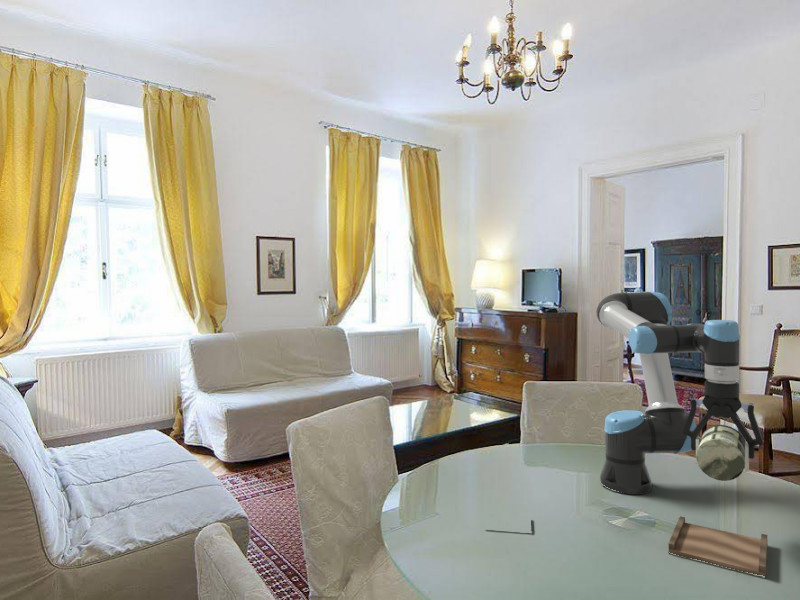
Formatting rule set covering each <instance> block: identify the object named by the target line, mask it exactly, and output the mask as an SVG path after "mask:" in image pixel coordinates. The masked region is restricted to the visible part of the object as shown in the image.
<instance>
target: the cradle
mask: <svg viewBox="0 0 800 600" xmlns="http://www.w3.org/2000/svg"><path fill="white" fill-rule="evenodd" d="M669 552H670V553H673V554H676V555H679V556H683V557H686V558H685V559H687V558H692V559H697V560H701V561H705V562H708V563H712V564H716V565H719V566H723V567H727V568H731V569H735V570H739V571H743V572H748V573H753V574H757V575H763V576H765V575H767V562H766V561H768V560H767V558H768V534H764V533H761V534H760V538H757V537H753V536H748V535H744V534H739V533H734V532H730V531H726V530H720V529H717V528H712V527H707V526H704V525H703V526H702V525H698V524H693V523H689V522H686V517H685V516H681V515H680V516H679V517H678V521H677V522H676V525H675V527H674V530H673V532H672V535H670V539H669V542H668V553H669ZM679 556H678V557H679ZM683 557H682V558H683Z"/></svg>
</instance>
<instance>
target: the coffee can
mask: <svg viewBox="0 0 800 600" xmlns="http://www.w3.org/2000/svg"><path fill="white" fill-rule="evenodd" d="M745 443H747V442H746V440H745V439H744V437H743V435H742V434H741V432H740V431H739V430H737V428H734V427H731V426H730V425H726V424H716V425H712V426H709V427H708V428H706V429H705V430H704V432H703V433H702V435H701V437H700V445H699V448H698V450H697V452H696V451H695V461H696V460H697V463H698V464H697V466H698V467H699V469H700V470H701V471H702V472H703V473H704V474H705V475H707V476H708V477H710V478H711V479H712V480H713V479H714V480H716V481H721V482H722V481H724V482H727V481H732V480H735V479H737V478H739V477H740V476H741V475H742V473H743V472H744V471H745Z"/></svg>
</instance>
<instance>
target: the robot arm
mask: <svg viewBox="0 0 800 600" xmlns="http://www.w3.org/2000/svg"><path fill="white" fill-rule="evenodd" d="M672 313H673V309H672V304H671V302H670V301H669V299H668V298H667V296H666V295H665V294H663V293H662V292H654V291H653V292H652V291H645V292H643V291H642V292H640V291H639V292H617V293H613V294H609V295H607V296H605V297H603V299H601V301H599V303H598V305H597V307H596V313H595V314H596V317H597V319H598V321H599V323H600V324H602V325H603V326H605V328H607V329H611V330H615V331H617V332H618V333H619V334H620V335H623V336H624V337H625V338H627V339H628V344H629V347H630V349H631V351H632V352H634V353H635V354H639V357H640V358H639V359H640V364H641V370H642V376H643V381H644V387H645V392H646V398H647V403H648V406H647V407H646V409H645V410H644V412H642V411H639V410H635V409H632V410H630V409H623V410H617V411H613V412H611V413H609V414H607V415H606V417H605V419H604V428H603V429H604V445H605V446H604V448H605V449H604V450H605V452H604V453H605V461H604V464H603V467H602V468H601V469H602V470H601V473H600V476H599V477H600V479H599V480H600V481H601V483H602V484H603V485H605V486H606V487H608V488H610V489H613V490H616V491H619V492H622V493H621V494H624V493H628V494H627V495H642V494H647V493H650V492H651V491H652V488H653V486H652V483H653V482H652V479H651V476H650V473H649V469H648V468H647V465H646V454H674V455H675V454H676V455H677V454H681V453H683V454H684V453H689V452H690V451H695V453H696V452H697V450H698V448H699V445H700V442H701V437H700V436H698V435H699V434H700V433H701V431H702V430H703V428H704V427H705V426H706V424H707V423H708V421H710V419H711V418H712V417H716V418H725V419H729V418H730V419H731V421H732V422H733V423H734V424H735V427H737V428H736V429H738V432H739V433H740V434H741V435H742V436H743V437H744V439H745V441H746V443H745V466H744V472H745V473H749V470H750V459H752V460H754V458H755V447H756V446H762V445H763V443H764V439H763V436H762V433H761V430H760V426H759V424H758V421H757V418H756V415H755V413H754V412H755V411H754V410H755V405H754V403H751V402H750V403H743V402H741V400H740V383H739V382H738V381H740V339H741V335H740V330H739V329H740V328H739V324H738V322H737V321H734V320H729V319H728V320H727V319H710V320H708V319H707V320H706V321H705V322H704V324H702V323H700V322H699V323H687V324H676V325H674V324H673V325H669V324H670V323H671V322H672V320H673V319H672V318H673V316H672ZM670 353H672V354H673V353H675V354H679V353H702V354H704V378H705V381H704V397H703V398H702V399H701V398H696V397H693V398H691V400H690V410H689V414H686V411H685V410H686V409H685V407H684V406H682V405H680V404H679V401H678V396H677V393H676V388H675V382H674V377H673V374H672V373H673V372H672V368H671V362H670V358H669V354H670ZM701 405H703V406H704V407H705V408H706V410H707V411H706V412H705V414H704V416H703V417H702V418H701V420H699V421H700V422H699V423H696V421H695V420H694V418H695V415H696V413H697V410H698V409H699V408H700V407H701ZM741 409H743V412H744V413H746V414H747V417H748V420H749V423H750V426H751V429H752V433H753V435H754V438H753V436H751V434H750V432H749V430H748V429H747V428H746V427H745V425H744V423H743V422H742V420H741V418H740V416H739V415H738V411H739V410H741ZM696 424H697V425H696ZM695 465H698V463H697V460H696V459H695ZM600 481H599V482H600ZM601 483H600V484H601Z"/></svg>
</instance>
